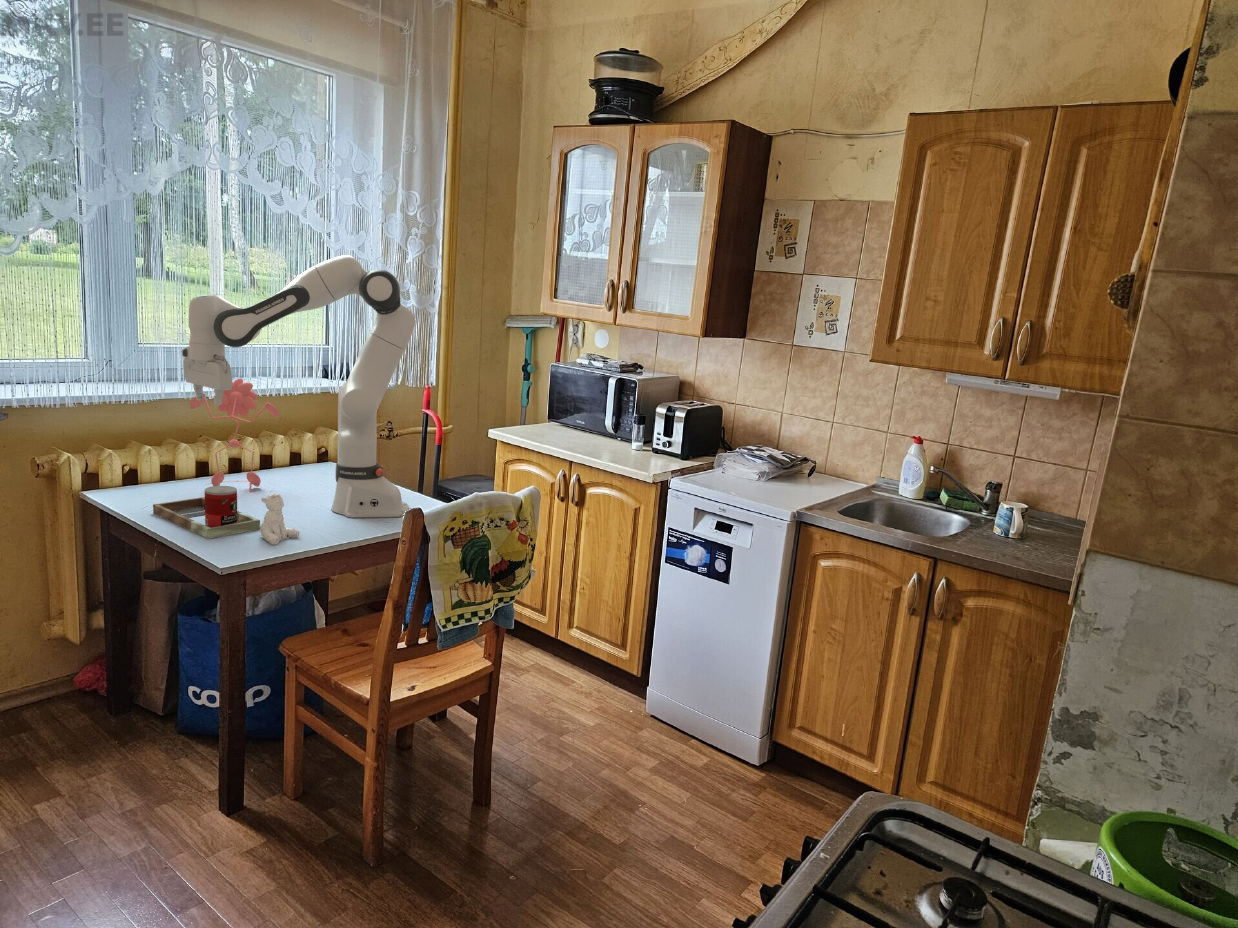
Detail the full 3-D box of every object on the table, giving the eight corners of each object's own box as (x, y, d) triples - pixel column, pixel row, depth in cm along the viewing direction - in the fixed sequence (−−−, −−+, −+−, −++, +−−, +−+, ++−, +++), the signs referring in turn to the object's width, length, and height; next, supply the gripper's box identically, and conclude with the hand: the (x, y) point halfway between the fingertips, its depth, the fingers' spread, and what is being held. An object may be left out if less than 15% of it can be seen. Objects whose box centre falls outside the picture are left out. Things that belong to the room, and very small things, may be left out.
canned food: (225, 534, 214) (225, 494, 212) (198, 530, 215) (197, 490, 213) (244, 527, 221) (243, 487, 219) (217, 523, 222) (216, 484, 220)
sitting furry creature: (273, 546, 208) (273, 500, 206) (248, 539, 211) (247, 495, 209) (301, 537, 217) (301, 493, 214) (276, 531, 220) (276, 488, 217)
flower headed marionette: (279, 492, 257) (278, 382, 251) (188, 492, 249) (185, 378, 243) (282, 482, 272) (282, 377, 265) (196, 482, 263) (194, 373, 257)
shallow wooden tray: (153, 513, 226) (152, 504, 226) (203, 505, 238) (203, 497, 237) (208, 538, 209) (208, 529, 209) (260, 529, 221) (260, 520, 220)
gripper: (238, 356, 224) (239, 406, 226) (200, 349, 235) (202, 397, 238) (215, 357, 219) (216, 408, 221) (178, 349, 230) (180, 398, 233)
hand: (208, 402), depth 230 cm, fingers open, 8 cm apart
